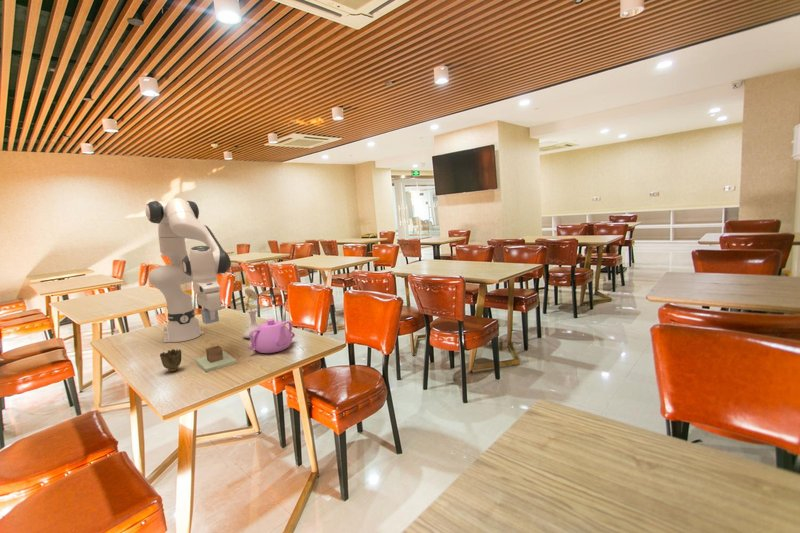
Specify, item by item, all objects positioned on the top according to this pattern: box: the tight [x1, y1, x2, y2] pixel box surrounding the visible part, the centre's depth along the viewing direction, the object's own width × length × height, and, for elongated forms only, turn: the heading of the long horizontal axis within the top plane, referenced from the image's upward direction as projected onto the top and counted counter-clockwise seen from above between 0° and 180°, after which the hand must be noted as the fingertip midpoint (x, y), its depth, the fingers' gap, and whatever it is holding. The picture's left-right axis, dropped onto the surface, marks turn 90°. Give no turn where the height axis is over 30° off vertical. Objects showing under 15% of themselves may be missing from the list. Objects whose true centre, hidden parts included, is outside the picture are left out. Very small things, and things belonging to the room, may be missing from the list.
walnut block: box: [205, 345, 223, 363], centre depth 157 cm, size 5×5×5 cm
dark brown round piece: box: [159, 348, 182, 373], centre depth 150 cm, size 8×7×8 cm
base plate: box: [194, 350, 238, 373], centre depth 157 cm, size 16×12×1 cm
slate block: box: [200, 309, 220, 325], centre depth 155 cm, size 5×5×5 cm
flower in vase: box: [242, 287, 260, 339], centre depth 188 cm, size 13×11×25 cm
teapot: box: [248, 318, 296, 354], centre depth 168 cm, size 22×22×14 cm
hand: (210, 317), depth 155 cm, fingers closed on slate block, 5 cm apart
